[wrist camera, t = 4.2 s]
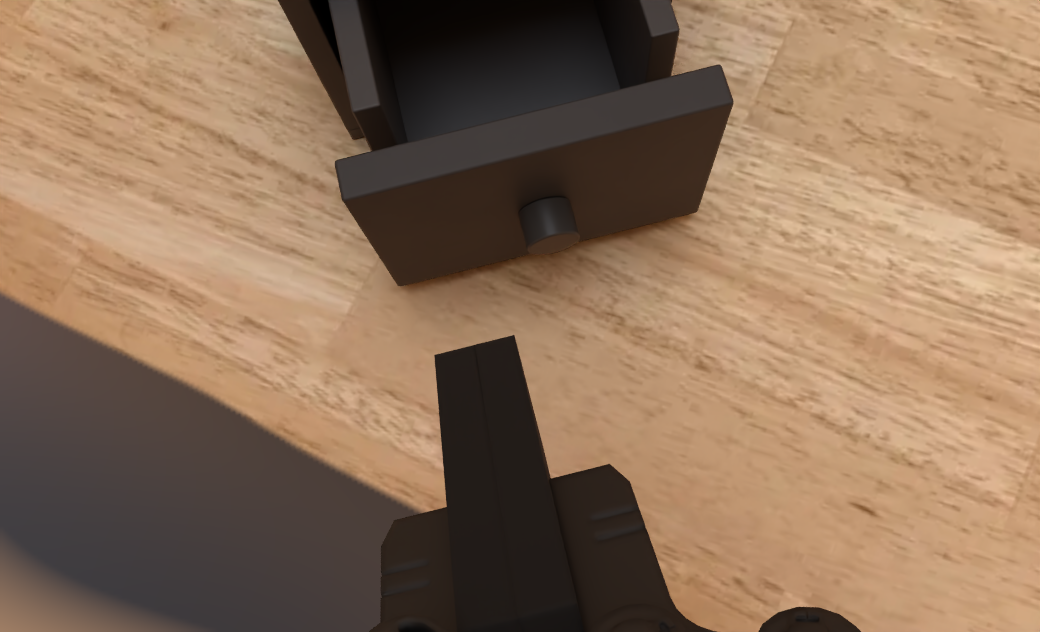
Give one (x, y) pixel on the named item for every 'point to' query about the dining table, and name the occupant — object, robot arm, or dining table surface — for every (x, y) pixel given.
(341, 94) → the cabinet
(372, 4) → the drawer
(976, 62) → the dining table surface
